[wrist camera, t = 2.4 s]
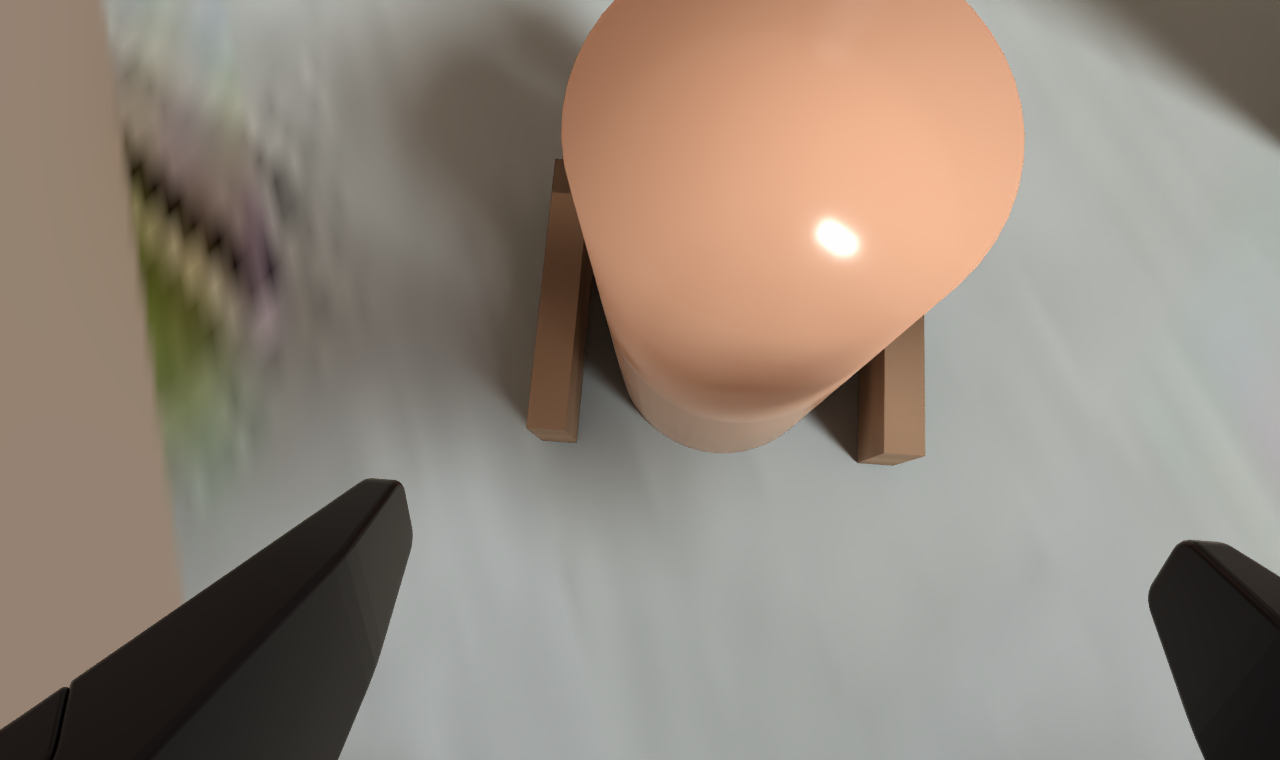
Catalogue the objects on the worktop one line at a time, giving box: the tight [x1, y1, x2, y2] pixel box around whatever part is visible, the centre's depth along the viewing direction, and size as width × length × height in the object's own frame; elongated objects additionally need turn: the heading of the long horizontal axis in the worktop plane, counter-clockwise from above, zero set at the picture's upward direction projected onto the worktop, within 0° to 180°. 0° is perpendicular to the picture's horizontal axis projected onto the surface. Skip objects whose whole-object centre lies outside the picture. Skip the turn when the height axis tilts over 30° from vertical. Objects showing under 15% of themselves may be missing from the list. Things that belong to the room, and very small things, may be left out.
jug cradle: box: [526, 159, 925, 465], centre depth 20 cm, size 8×10×2 cm
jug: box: [561, 0, 1025, 453], centre depth 16 cm, size 8×6×12 cm
